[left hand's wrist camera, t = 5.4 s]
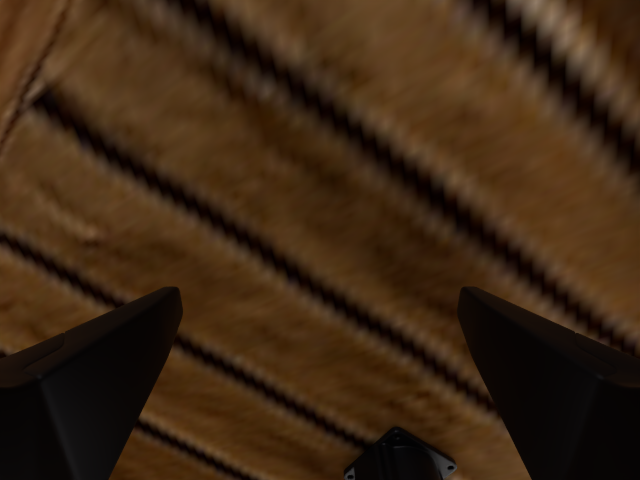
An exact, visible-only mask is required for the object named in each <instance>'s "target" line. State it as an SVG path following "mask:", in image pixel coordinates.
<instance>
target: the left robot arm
mask: <svg viewBox="0 0 640 480" xmlns="http://www.w3.org/2000/svg"><path fill="white" fill-rule="evenodd" d="M182 315H183V308H182V302H181V295H180V291H179V288H177V287H163V288H161V289H159V290H157V291H154V292H152V293H150V294H148V295H145V296H143V297H141V298H139V299H137V300H134V301H132V302H130V303H128V304H125V305H123V306H121V307H119V308H117V309H114V310H112V311H110V312H108V313H106V314H103V315H101V316H99V317H97V318H94V319H92V320H90V321H88V322H86V323H83V324H81V325H79V326H77V327H74V328H72V329H70V330H68V331H66V332H65V333H61V334H59V335H57V336H54V337H52V338H50V339H48V340H45V341H43V342H41V343H38V344H36V345H34V346H32V347H29V348H27V349H24V350H22V351H19V352H17V353H14V354H12V355H10V356H7V357H5V358H2V359H0V480H108V479H109V477H110V475H111V473H112V471H113V469H114V467H115V465H116V463H117V461H118V459H119V457H120V455H121V452H122V450H123V448H124V446H125V444H126V442H127V440H128V438H129V436H130V434H131V432H132V430H133V428H134V426H135V424H136V422H137V420H138V418H139V416H140V414H141V412H142V409H143V407H144V405H145V403H146V401H147V399H148V397H149V395H150V393H151V391H152V389H153V387H154V385H155V383H156V381H157V379H158V377H159V375H160V373H161V371H162V369H163V366H164V364H165V362H166V360H167V358H168V356H169V353H170V350H171V348H172V345H173V342H174V339H175V336H176V333H177V330H178V327H179V325H180V322H181V319H182ZM457 315H458V319H459V322H460V325H461V327H462V330H463V333H464V336H465V339H466V342H467V345H468V348H469V350H470V353H471V356H472V358H473V360H474V362H475V364H476V366H477V369H478V371H479V373H480V375H481V377H482V379H483V381H484V383H485V385H486V387H487V389H488V391H489V393H490V395H491V397H492V399H493V401H494V403H495V405H496V407H497V409H498V412H499V414H500V416H501V418H502V420H503V422H504V424H505V426H506V428H507V430H508V432H509V434H510V436H511V438H512V440H513V442H514V444H515V446H516V448H517V450H518V452H519V455H520V457H521V459H522V461H523V463H524V465H525V467H526V469H527V471H528V473H529V475H530V477H531V479H532V480H640V359H638V358H635V357H633V356H630V355H628V354H626V353H623V352H621V351H618V350H616V349H613V348H611V347H608V346H606V345H604V344H602V343H599V342H597V341H595V340H592V339H590V338H588V337H586V336H583V335H581V334H579V333H575V332H574V331H572V330H570V329H568V328H566V327H563V326H561V325H559V324H557V323H554V322H552V321H550V320H548V319H546V318H543V317H541V316H539V315H537V314H534V313H532V312H530V311H528V310H526V309H523V308H521V307H519V306H517V305H515V304H512V303H510V302H508V301H506V300H503V299H501V298H499V297H497V296H495V295H492V294H490V293H488V292H486V291H483V290H481V289H479V288H477V287H463V288H461V291H460V295H459V302H458V308H457ZM456 469H457V465H456V463H455V460H454V459H452V458H450V457H449V456H447V455H445V454H444V453H442V452H440V451H439V450H437V449H435V448H434V447H432V446H430V445H429V444H427V443H425V442H424V441H422V440H420V439H419V438H417V437H415V436H414V435H412V434H410V433H408V432H407V431H405V430H403V429H402V428H400V427H393V428H392V429H390V430H389V431H388V432H387V433H386V434H385V435H384V436H382V437H381V438H380V439H379V440H378V441H377V442H376V443H374V444H373V445H372V446H371V447H370V448H369V449H368V450H367V451H365V452H364V453H363V454H362V455H361V456H360V457H359V458H357V459H356V460H355V461H354V462H353V463H352V464H351V465H350V466H348V467H347V468H346V469H345V470H344V479H345V480H444V479H445V478H446V477H447V476H449V475H450V474H451V473H452V472H454V471H455V470H456Z"/></svg>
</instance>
